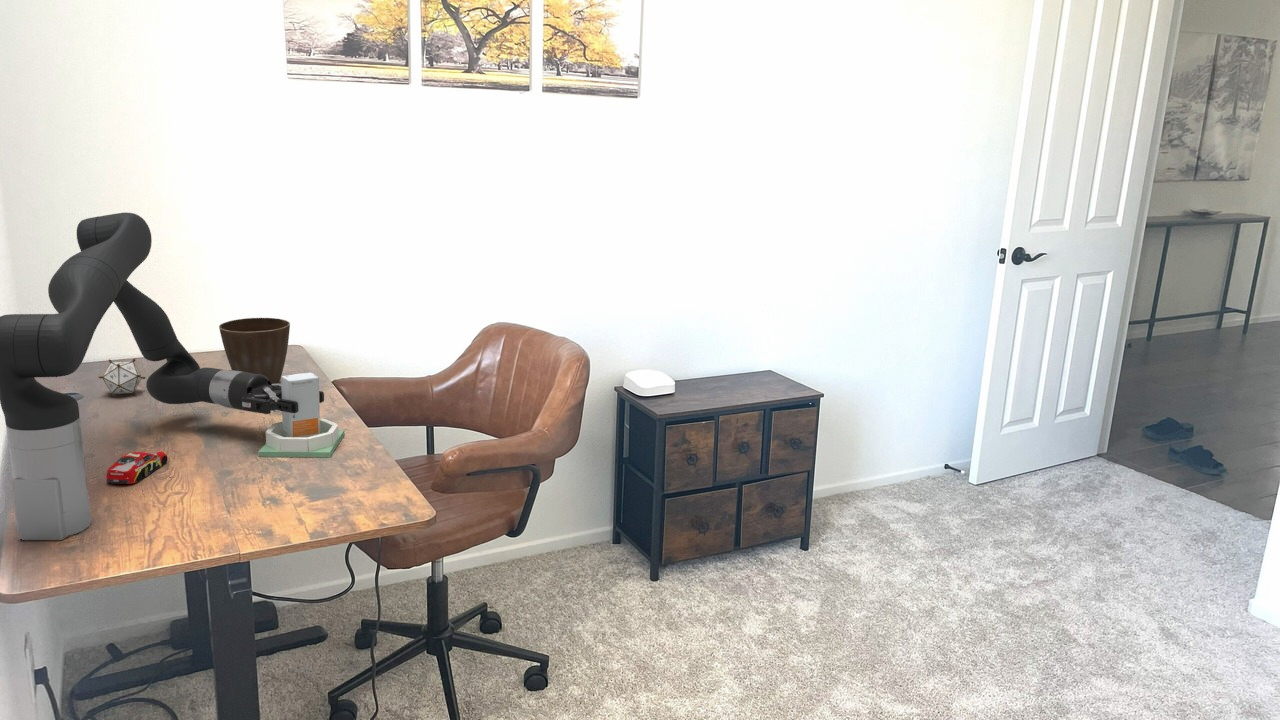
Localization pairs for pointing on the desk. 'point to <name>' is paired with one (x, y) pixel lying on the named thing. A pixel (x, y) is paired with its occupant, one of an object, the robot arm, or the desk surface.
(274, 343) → the plant pot
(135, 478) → the race car
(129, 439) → the desk surface
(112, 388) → the game die
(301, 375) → the skincare box
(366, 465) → the desk surface
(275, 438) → the octagonal rimmed tray
